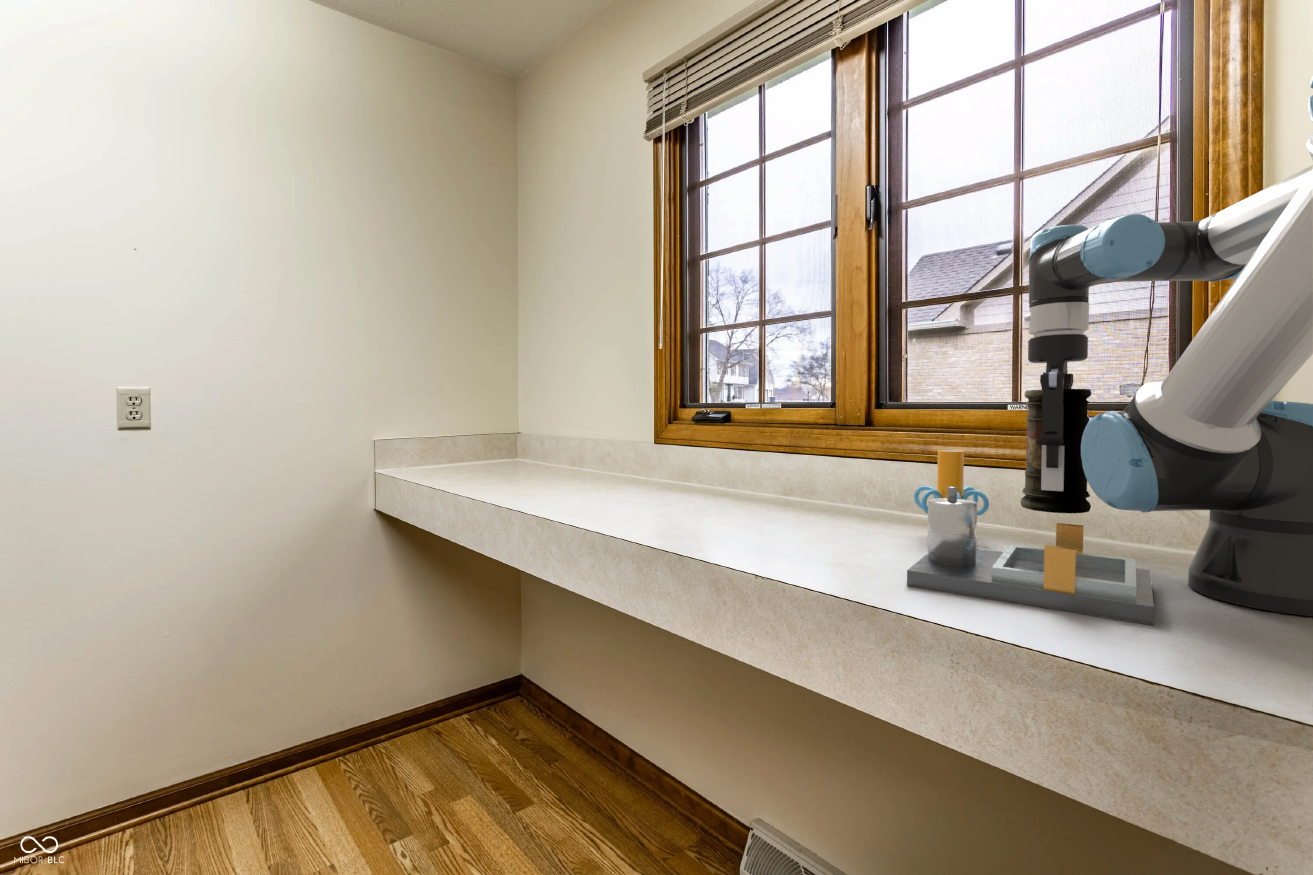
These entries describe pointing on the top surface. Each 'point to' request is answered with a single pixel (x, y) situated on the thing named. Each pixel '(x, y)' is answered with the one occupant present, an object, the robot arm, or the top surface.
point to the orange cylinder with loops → (950, 481)
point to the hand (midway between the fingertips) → (1055, 486)
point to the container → (1073, 469)
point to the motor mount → (1029, 569)
